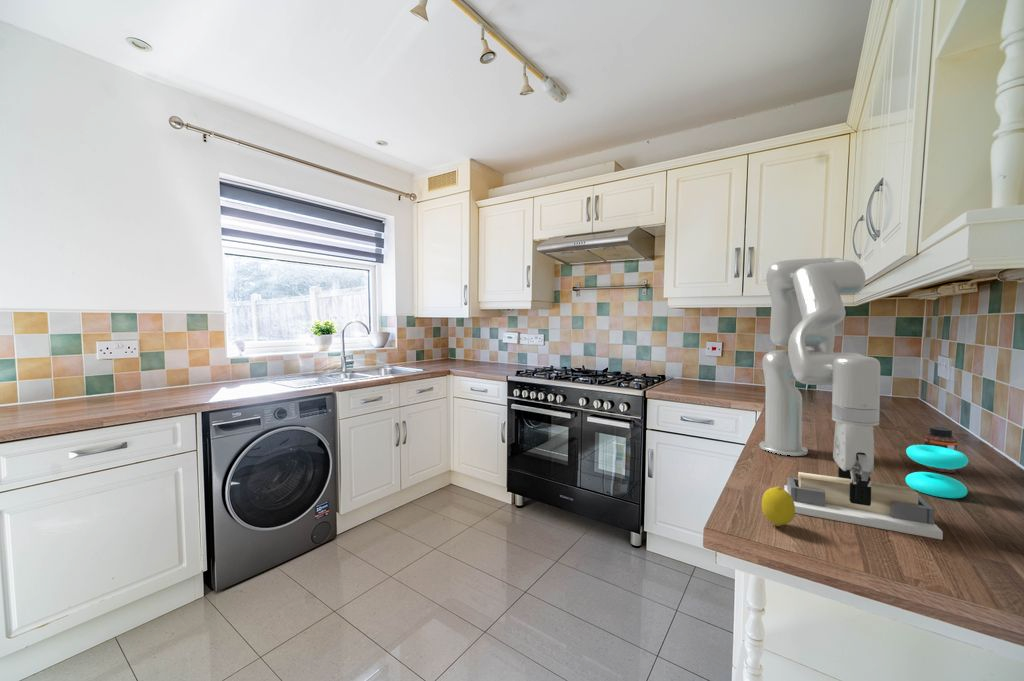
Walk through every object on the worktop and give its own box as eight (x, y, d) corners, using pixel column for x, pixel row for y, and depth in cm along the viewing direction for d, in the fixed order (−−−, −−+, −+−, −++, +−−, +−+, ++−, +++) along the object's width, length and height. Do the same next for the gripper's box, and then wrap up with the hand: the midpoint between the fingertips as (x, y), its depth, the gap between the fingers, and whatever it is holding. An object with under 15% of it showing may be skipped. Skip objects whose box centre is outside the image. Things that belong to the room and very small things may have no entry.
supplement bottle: (960, 475, 102) (962, 432, 102) (928, 471, 105) (929, 429, 105) (951, 468, 107) (952, 427, 107) (920, 464, 110) (921, 424, 110)
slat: (797, 493, 90) (798, 471, 89) (910, 511, 80) (911, 487, 80) (800, 499, 86) (800, 477, 86) (917, 519, 77) (918, 494, 77)
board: (784, 491, 94) (784, 485, 94) (916, 512, 83) (916, 505, 83) (790, 512, 84) (790, 505, 84) (942, 539, 73) (942, 531, 73)
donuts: (978, 459, 86) (916, 452, 91) (977, 504, 86) (915, 495, 91) (955, 446, 95) (899, 441, 99) (953, 487, 95) (898, 480, 100)
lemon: (800, 534, 75) (801, 493, 75) (768, 531, 76) (768, 491, 76) (786, 520, 81) (787, 482, 80) (756, 518, 82) (757, 480, 81)
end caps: (787, 489, 92) (787, 476, 92) (919, 510, 81) (919, 495, 81) (791, 500, 86) (791, 487, 86) (934, 524, 75) (934, 509, 75)
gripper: (824, 405, 92) (823, 477, 93) (842, 422, 77) (840, 507, 78) (866, 408, 88) (864, 483, 89) (893, 426, 73) (891, 516, 74)
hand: (853, 494), depth 83 cm, fingers open, 9 cm apart
